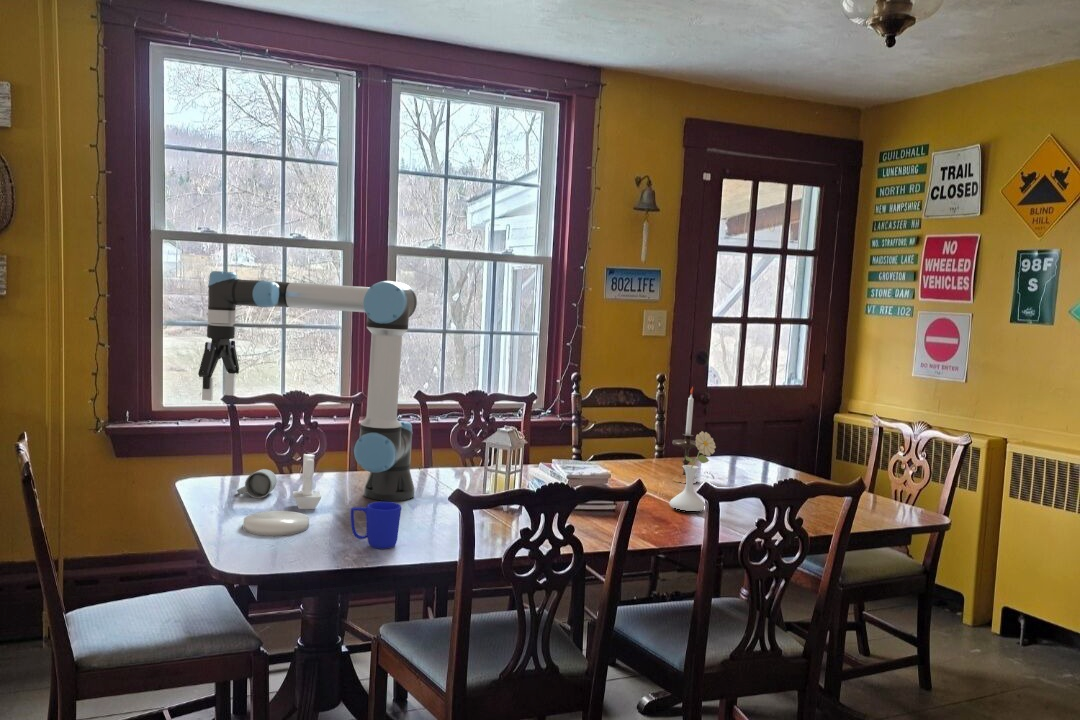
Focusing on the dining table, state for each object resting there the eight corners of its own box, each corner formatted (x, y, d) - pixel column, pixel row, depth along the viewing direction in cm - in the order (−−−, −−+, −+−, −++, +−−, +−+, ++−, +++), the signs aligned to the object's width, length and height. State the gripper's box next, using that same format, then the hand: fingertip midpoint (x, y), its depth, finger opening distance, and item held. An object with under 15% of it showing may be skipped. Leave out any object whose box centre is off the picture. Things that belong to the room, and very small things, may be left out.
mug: (351, 539, 207) (353, 500, 206) (400, 541, 208) (402, 502, 207) (346, 549, 198) (348, 508, 198) (397, 551, 199) (399, 510, 199)
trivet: (317, 521, 221) (318, 513, 220) (294, 538, 205) (295, 530, 205) (259, 516, 222) (259, 508, 222) (232, 532, 206) (232, 524, 206)
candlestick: (702, 485, 298) (710, 388, 295) (672, 483, 298) (679, 386, 295) (696, 478, 309) (703, 385, 306) (667, 477, 309) (674, 383, 306)
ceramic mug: (277, 492, 248) (278, 466, 248) (271, 498, 240) (271, 472, 240) (241, 491, 248) (241, 465, 247) (233, 497, 239) (234, 471, 239)
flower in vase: (676, 515, 253) (683, 433, 251) (663, 505, 264) (669, 427, 262) (716, 515, 256) (723, 435, 254) (702, 506, 267) (708, 428, 265)
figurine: (318, 502, 240) (320, 451, 239) (321, 511, 231) (323, 457, 230) (292, 503, 237) (294, 451, 236) (294, 511, 229) (296, 457, 227)
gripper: (228, 323, 253) (226, 392, 255) (186, 325, 229) (184, 401, 230) (252, 324, 253) (249, 394, 254) (212, 326, 228) (210, 403, 229)
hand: (218, 397), depth 242 cm, fingers open, 13 cm apart
